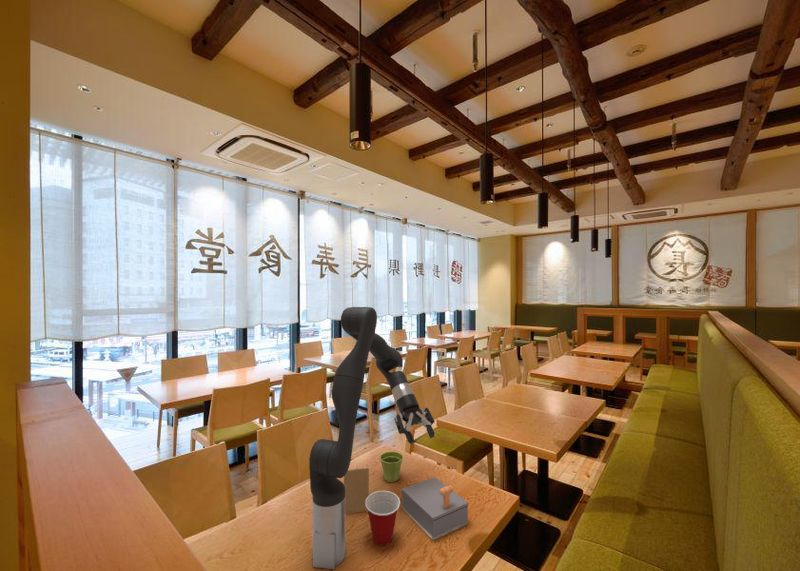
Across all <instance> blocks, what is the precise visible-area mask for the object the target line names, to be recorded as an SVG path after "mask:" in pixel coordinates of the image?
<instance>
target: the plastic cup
mask: <svg viewBox="0 0 800 571" xmlns="http://www.w3.org/2000/svg"><path fill="white" fill-rule="evenodd" d="M400 505H401V500H400V497H399V496H398V495H397V494H396V493H394V492H393V491H388V490H376V491H373V492H371V493H369V496H368V497H367V499H366V500H365V506H366V508H367V510H368V511H367V512H368V513H367V514H368V518H369V523H370V530H371V536H372V540H373V542H374V543H375V544H376V545H378V546H379V545H380V546H386V545H389V544H390V543H391V542H392V540H393V535H394V529H395V525H396V519H397V513H398V510H399V508H400Z"/></svg>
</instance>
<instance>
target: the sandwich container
mask: <svg viewBox="0 0 800 571" xmlns="http://www.w3.org/2000/svg"><path fill="white" fill-rule="evenodd" d="M342 483H343V484H344V486H345V515H346V514H354V513H360V512H368V510H367V508H366V506H365V500H366V499H367V497H368V496H369V495H370V493H369V492H370V489H369V488H370V470H369V467H363V468H360V467H359V468H353V469H348V471H347V473H346V475H345V476H344V477H343V482H342Z"/></svg>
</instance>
